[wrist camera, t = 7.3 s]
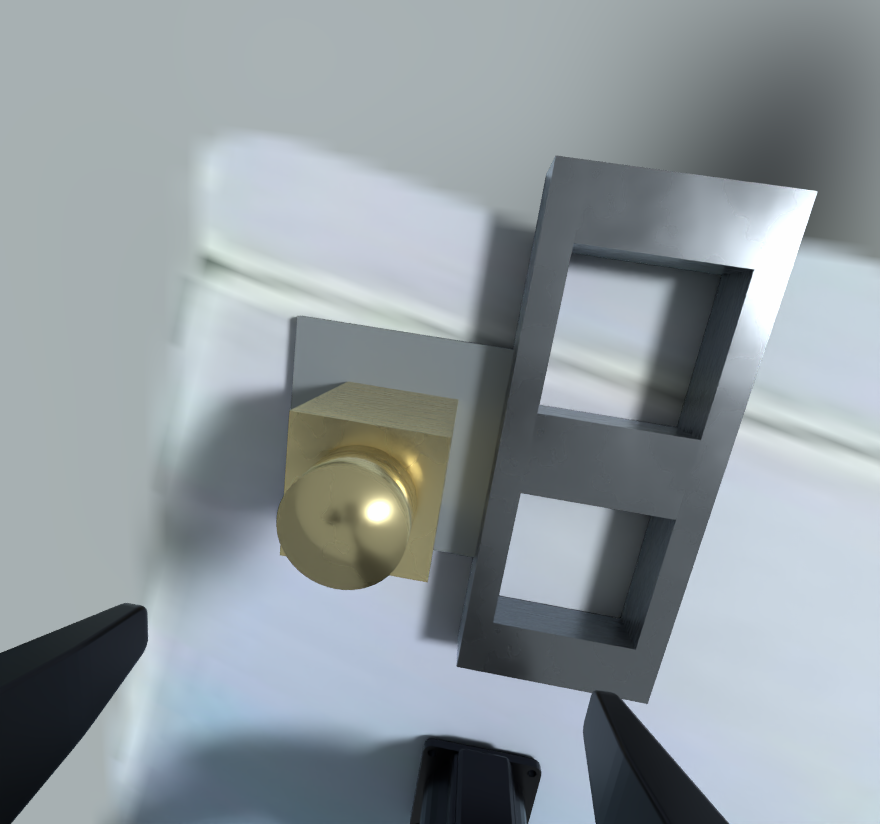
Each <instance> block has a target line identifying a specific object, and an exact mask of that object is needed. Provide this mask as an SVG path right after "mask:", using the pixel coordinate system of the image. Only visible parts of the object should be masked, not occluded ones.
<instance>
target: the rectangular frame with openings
mask: <svg viewBox="0 0 880 824" xmlns="http://www.w3.org/2000/svg"><path fill="white" fill-rule="evenodd" d="M816 194H817V191H812V190H804V189H797V188H789V187H782V186H774V185H768V184H760V183H752V182H744V181H737V180H731V179H723V178H716V177H709V176H701V175H694V174H686V173H679V172H672V171H664V170H657V169H650V168H643V167H635V166H628V165H620V164H613V163H606V162H599V161H591V160H584V159H576V158H569V157H562V156H555V158H554V160H553V162H552V164H551V166H550V168H549V170H548V172H547V174H546V178H545V184H544V189H543V194H542V199H541V205H540V210H539V215H538V220H537V225H536V231H535V236H534V241H533V246H532V252H531V257H530V262H529V267H528V273H527V278H526V283H525V288H524V293H523V299H522V304H521V309H520V314H519V320H518V325H517V330H516V335H515V341H514V346H513V350H514V354H513V359H512V364H511V369H510V374H509V380H508V385H507V390H506V395H505V400H504V406H503V411H502V416H501V421H500V427H499V432H498V437H497V442H496V447H495V453H494V458H493V463H492V468H491V473H490V479H489V484H488V489H487V494H486V500H485V505H484V510H483V515H482V520H481V526H480V531H479V536H478V541H477V547H476V552H475V557H473V561H472V566H471V571H470V576H469V582H468V587H467V592H466V597H465V603H464V608H463V613H462V618H461V624H460V629H459V634H458V650H457V667H461V668H466V669H471V670H476V671H481V672H487V673H492V674H497V675H502V676H507V677H512V678H517V679H522V680H528V681H533V682H538V683H543V684H548V685H553V686H558V687H563V688H569V689H574V690H579V691H584V692H589V693H593V691H595V690H602V691H607V692H612V693H615V694H617V695H618V696H619V697H620V698H621V699H625V700H630V701H635V702H640V703H646V704H648V701H649V698H650V695H651V692H652V689H653V686H654V683H655V680H656V677H657V674H658V671H659V668H660V665H661V662H662V659H663V656H664V653H665V650H666V647H667V644H668V641H669V638H670V635H671V632H672V629H673V626H674V622H675V619H676V616H677V613H678V610H679V607H680V604H681V601H682V598H683V595H684V592H685V589H686V586H687V583H688V580H689V577H690V574H691V571H692V568H693V565H694V562H695V559H696V556H697V553H698V550H699V547H700V544H701V541H702V538H703V535H704V532H705V529H706V526H707V523H708V520H709V517H710V514H711V511H712V508H713V505H714V502H715V499H716V496H717V493H718V490H719V487H720V484H721V481H722V478H723V475H724V472H725V469H726V466H727V463H728V460H729V457H730V454H731V451H732V448H733V445H734V442H735V439H736V436H737V433H738V430H739V427H740V424H741V421H742V418H743V415H744V412H745V409H746V405H747V402H748V399H749V396H750V393H751V390H752V387H753V384H754V381H755V378H756V375H757V372H758V369H759V366H760V363H761V360H762V357H763V354H764V351H765V348H766V345H767V342H768V339H769V336H770V333H771V330H772V327H773V324H774V321H775V318H776V315H777V312H778V309H779V306H780V303H781V300H782V297H783V294H784V291H785V288H786V285H787V282H788V279H789V276H790V273H791V270H792V267H793V264H794V261H795V258H796V255H797V252H798V249H799V246H800V243H801V240H802V237H803V233H804V231H805V228H806V225H807V222H808V219H809V215H810V213H811V210H812V207H813V203H814V200H815V197H816ZM571 253H575V254H582V255H589V256H596V257H603V258H609V259H616V260H623V261H630V262H637V263H643V264H650V265H657V266H664V267H671V268H677V269H684V270H691V271H698V272H705V273H712V274H718V275H722V277H721V280H720V284H719V287H718V290H717V294H716V297H715V301H714V304H713V307H712V311H711V314H710V317H709V321H708V324H707V328H706V331H705V334H704V338H703V341H702V345H701V348H700V351H699V355H698V358H697V361H696V365H695V368H694V372H693V375H692V378H691V382H690V385H689V389H688V392H687V395H686V399H685V402H684V405H683V409H682V412H681V416H680V419H679V422H678V426H677V427H672V426H666V425H660V424H654V423H647V422H641V421H635V420H629V419H623V418H617V417H611V416H605V415H599V414H593V413H587V412H580V411H574V410H568V409H562V408H556V407H550V406H544V405H539V404H540V399H541V394H542V390H543V385H544V380H545V376H546V371H547V366H548V361H549V357H550V352H551V347H552V343H553V338H554V333H555V329H556V324H557V319H558V314H559V310H560V305H561V300H562V296H563V291H564V286H565V281H566V277H567V272H568V267H569V263H570V258H571ZM520 493H524V494H530V495H536V496H541V497H547V498H553V499H559V500H564V501H570V502H576V503H582V504H587V505H593V506H599V507H605V508H610V509H616V510H622V511H627V512H633V513H639V514H645V515H650V516H651V517H650V521H649V524H648V527H647V531H646V534H645V537H644V541H643V544H642V548H641V551H640V554H639V558H638V561H637V565H636V568H635V571H634V575H633V578H632V581H631V585H630V588H629V592H628V595H627V598H626V602H625V605H624V609H623V612H622V615H621V619H620V618H615V617H610V616H604V615H599V614H594V613H588V612H583V611H577V610H572V609H567V608H561V607H556V606H551V605H545V604H540V603H534V602H529V601H524V600H518V599H513V598H508V597H502V596H499V592H500V588H501V583H502V578H503V574H504V569H505V564H506V559H507V555H508V550H509V545H510V541H511V536H512V531H513V526H514V522H515V517H516V512H517V508H518V503H519V498H520Z"/></svg>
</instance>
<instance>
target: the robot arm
mask: <svg viewBox="0 0 880 824" xmlns="http://www.w3.org/2000/svg"><path fill="white" fill-rule="evenodd" d="M147 642H148V618H147V610H146V608H145V607H144V606H141V605H135V604H130V603H124V604H120V605H118V606H115V607H113V608H110V609H108V610H105V611H103V612H100V613H98V614H96V615H93V616H91V617H88V618H86V619H83V620H81V621H79V622H76V623H73V624H71V625H68V626H66V627H64V628H61V629H59V630H56V631H54V632H51V633H49V634H46V635H44V636H41V637H39V638H36V639H34V640H31V641H29V642H27V643H24V644H22V645H19V646H17V647H14V648H12V649H9V650H7V651H4V652H2V653H0V824H11V823H12V822H13V821H14V820H15V818H16V817H17V816H18V814H20V812H21V811H22V810H23V809H24V807H25V806H26V805H27V804H28V803H29V801H30V800H31V799H32V798H33V797H34V795H35V794H36V793H37V792H38V790H39V789H40V788H41V787H42V786H43V784H44V783H45V782H46V781H47V780H48V779H49V777H50V776H51V775H52V774H53V773H54V771H55V770H56V769H57V768H58V767H59V765H60V764H61V763H62V762H63V760H64V759H65V758H66V757H67V756H68V755H69V753H70V752H71V751H72V749H74V747H75V746H76V744H78V742H79V741H80V740H81V739H82V737H83V736H84V735H85V733H86V732H87V731H88V729H89V728H90V727H91V725H92V724H93V723H94V721H95V720H96V719H97V717H98V716H99V714H100V713H101V712H102V710H103V709H104V707H105V706H106V705H107V703H108V702H109V700H110V699H111V698H112V696H113V694H114V693H115V692H116V691H117V689H118V688H119V686H120V685H121V684H122V682H123V681H124V679H125V678H126V677H127V675H128V674H129V672H130V671H131V670H132V668H133V667H134V665H135V664H136V663H137V661H138V660H139V658H140V657H141V656H142V654H143V652H144V650H145V648H146V646H147ZM583 737H584V744H585V751H586V758H587V765H588V772H589V780H590V787H591V794H592V801H593V808H594V815H595V822H596V824H729V823H728V822H727V821H726V819H725V818H724V817H723V816H722V815H721V814H720V813H719V811H718V810H717V809H716V808H715V807H714V806H713V804H712V803H711V802H710V801H709V800H708V799H707V798H706V796H705V795H704V794H703V793H702V792H701V791H700V789H699V788H698V787H697V786H696V785H695V784H694V782H693V781H692V780H691V779H690V778H689V777H688V776H687V774H686V773H685V772H684V771H683V770H682V769H681V767H680V766H679V765H678V764H677V763H676V762H675V761H674V759H673V758H672V757H671V756H670V755H669V754H668V752H667V751H666V750H665V749H664V748H663V747H662V746H661V744H660V743H659V742H658V741H657V740H656V739H655V737H654V736H653V735H652V734H651V733H650V732H649V730H648V729H647V728H646V727H645V726H644V725H643V724H642V722H641V721H640V720H639V719H638V718H637V717H636V715H635V714H634V713H633V712H632V711H631V710H630V709H629V707H628V706H627V705H626V704H625V703H624V702H623V700H622V699H621V698H620V697H619V696H618V695H617V694H615V693H612V692H607V691H602V690H595V691H593V693H592V695H591V698H590V702H589V706H588V709H587V713H586V717H585V720H584V726H583ZM540 778H541V768H540V764H539V762H538V761H537V760H534V759H531V758H526V757H521V756H516V755H511V754H506V753H501V752H496V751H491V750H486V749H481V748H477V747H472V746H467V745H462V744H457V743H452V742H447V741H442V740H437V739H428V740H427V741H425V743H424V748H423V753H422V759H421V764H420V770H419V775H418V781H417V786H416V792H415V797H414V803H413V808H412V814H411V820H410V824H528V822H529V818H530V815H531V811H532V807H533V804H534V800H535V796H536V793H537V789H538V785H539V782H540Z"/></svg>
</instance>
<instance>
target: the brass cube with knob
mask: <svg viewBox="0 0 880 824" xmlns="http://www.w3.org/2000/svg"><path fill="white" fill-rule="evenodd" d="M457 406H458V399H452V398H446V397H440V396H434V395H428V394H421V393H415V392H409V391H403V390H397V389H391V388H385V387H379V386H372V385H366V384H360V383H354V382H346V383H344V384H342V385H340V386H338V387H336V388H334V389H332V390H330V391H328V392H326V393H324V394H322V395H320V396H318V397H316V398H314V399H312V400H310V401H308V402H306V403H304V404H302V405H300V406H298V407H296V408H294V409H292V410H290V411H289V425H288V440H287V455H286V470H285V485H284V496H283V498H282V500H281V502H280V505H279V508H278V512H277V519H276V527H277V534H278V538H279V542H280V544H281V545H280V555H282V556H287V558H288V559H289V560H290V562H291V563H292V564H293V565H294V566H295V567H296V569H297V570H299V571H300V572H301V573H302V574H303V575H305V576H306V577H308V578H309V579H311V580H312V581H314V582H316V583H318V584H321V585H324V586H326V587H330V588H334V589H341V590H355V589H362V588H366V587H369V586H372V585H375V584H376V583H378V582H380V581H382V580H383V579H385V578H386V577H388V576H389V575H391V576H396V577H401V578H407V579H412V580H418V581H423V582H428V577H429V571H430V566H431V560H432V554H433V549H434V543H435V538H436V532H437V527H438V521H439V515H440V510H441V504H442V498H443V492H444V486H445V480H446V474H447V468H448V461H449V455H450V449H451V443H452V437H453V431H454V425H455V419H456V412H457Z"/></svg>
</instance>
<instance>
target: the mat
mask: <svg viewBox="0 0 880 824" xmlns="http://www.w3.org/2000/svg"><path fill="white" fill-rule="evenodd" d="M513 354H514V350H513V349H509V348H502V347H496V346H490V345H483V344H477V343H471V342H464V341H458V340H452V339H445V338H439V337H433V336H426V335H420V334H414V333H408V332H401V331H395V330H389V329H382V328H376V327H370V326H363V325H357V324H351V323H344V322H338V321H332V320H325V319H319V318H313V317H306V316H297V327H296V342H295V356H294V371H293V385H292V400H291V410H292V409H294V408H296V407H298V406H300V405H302V404H304V403H306V402H308V401H310V400H312V399H314V398H316V397H318V396H320V395H322V394H324V393H326V392H328V391H330V390H332V389H334V388H336V387H338V386H340V385H342V384H344V383H346V382H354V383H360V384H366V385H372V386H379V387H385V388H391V389H397V390H403V391H409V392H415V393H421V394H428V395H434V396H440V397H446V398H452V399H458V406H457V412H456V419H455V425H454V431H453V437H452V443H451V449H450V455H449V461H448V468H447V474H446V480H445V486H444V492H443V498H442V504H441V510H440V515H439V521H438V527H437V532H436V538H435V543H434V549H433V550H436V551H441V552H447V553H452V554H458V555H463V556H469V557H475V552H476V547H477V541H478V536H479V531H480V526H481V520H482V515H483V510H484V505H485V500H486V494H487V489H488V484H489V479H490V473H491V468H492V463H493V458H494V453H495V447H496V442H497V437H498V432H499V427H500V421H501V416H502V411H503V406H504V400H505V395H506V390H507V385H508V380H509V374H510V369H511V364H512V359H513Z"/></svg>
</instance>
